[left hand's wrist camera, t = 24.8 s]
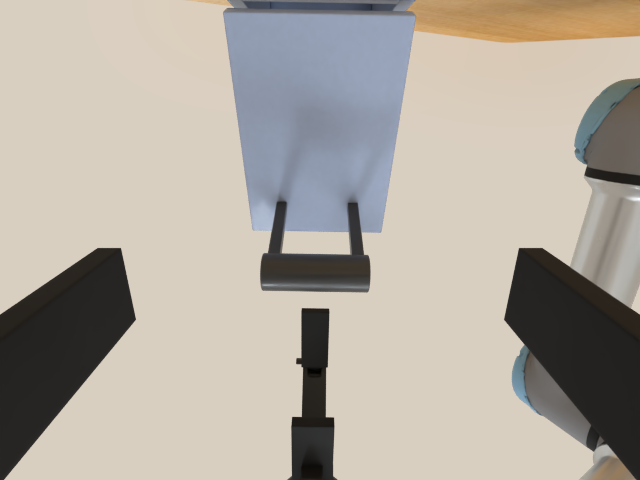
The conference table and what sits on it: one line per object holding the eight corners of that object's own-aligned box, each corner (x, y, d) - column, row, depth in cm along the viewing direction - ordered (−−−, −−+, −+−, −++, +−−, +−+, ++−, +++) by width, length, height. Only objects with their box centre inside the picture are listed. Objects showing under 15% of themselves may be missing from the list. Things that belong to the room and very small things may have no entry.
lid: (379, 225, 27) (396, 314, 21) (254, 222, 27) (233, 312, 21) (413, 10, 18) (457, 59, 12) (226, 7, 18) (176, 53, 12)
